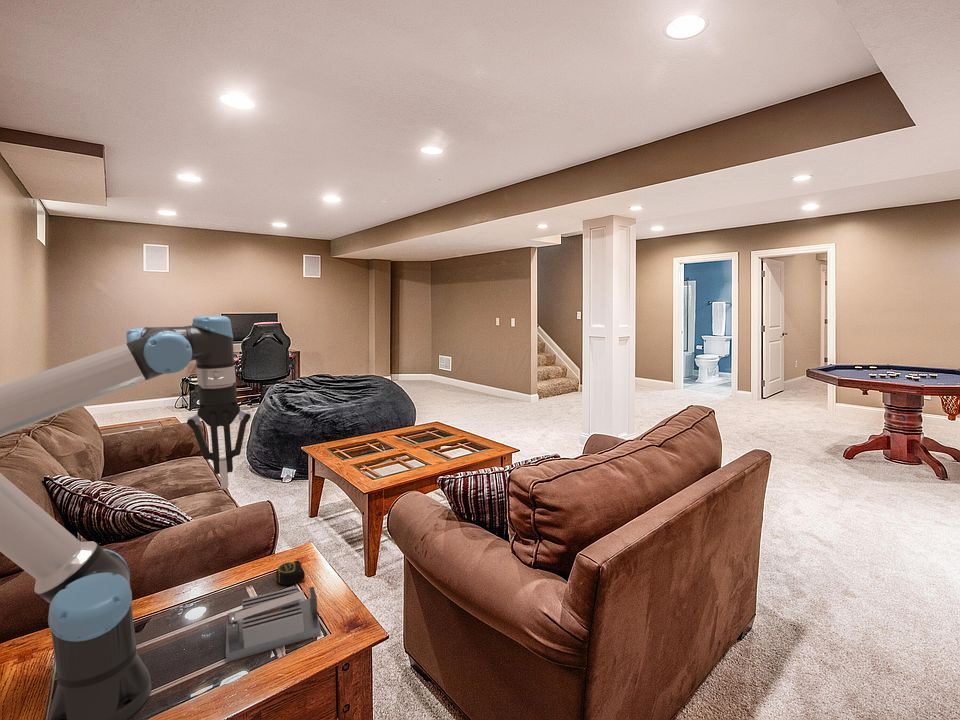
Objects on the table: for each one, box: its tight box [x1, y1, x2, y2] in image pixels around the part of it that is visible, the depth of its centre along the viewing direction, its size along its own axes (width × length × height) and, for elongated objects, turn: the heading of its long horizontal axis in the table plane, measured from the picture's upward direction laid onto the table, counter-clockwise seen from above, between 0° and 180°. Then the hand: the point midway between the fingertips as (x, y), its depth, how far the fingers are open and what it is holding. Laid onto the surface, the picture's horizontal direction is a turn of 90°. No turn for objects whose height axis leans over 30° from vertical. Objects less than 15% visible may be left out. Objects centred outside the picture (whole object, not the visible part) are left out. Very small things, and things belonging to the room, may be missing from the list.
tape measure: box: [275, 559, 306, 585], centre depth 133 cm, size 7×7×4 cm
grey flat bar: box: [229, 590, 306, 625], centre depth 112 cm, size 16×3×1 cm, turn 115°
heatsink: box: [225, 586, 322, 663], centre depth 112 cm, size 19×12×7 cm, turn 116°
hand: (224, 486), depth 114 cm, fingers closed
